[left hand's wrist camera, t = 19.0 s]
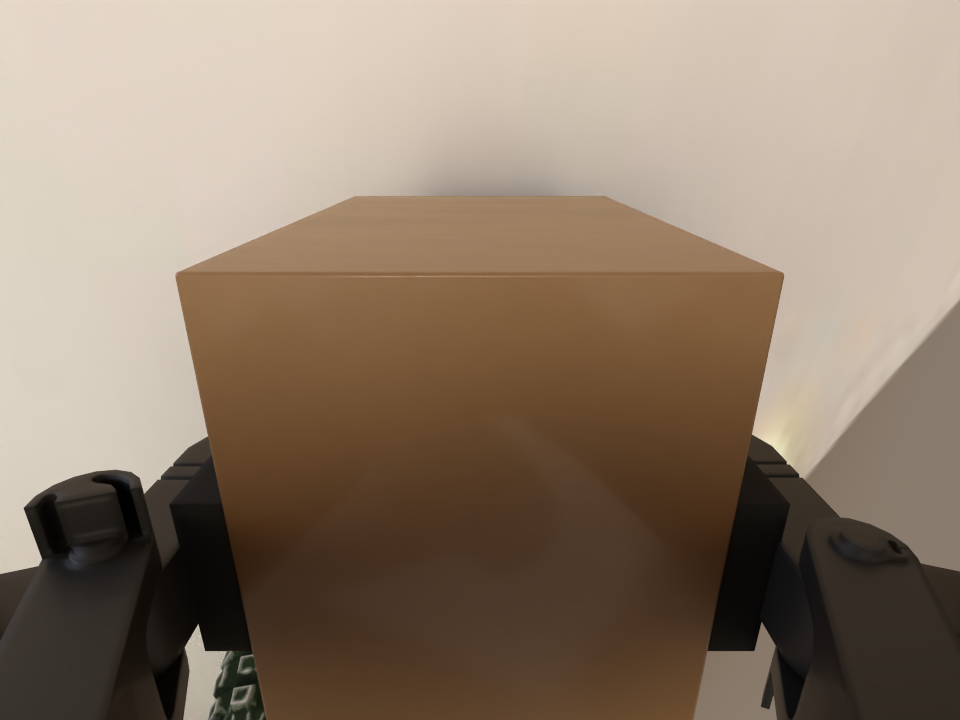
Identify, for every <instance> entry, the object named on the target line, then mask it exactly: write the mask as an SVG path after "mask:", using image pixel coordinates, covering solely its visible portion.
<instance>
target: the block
mask: <svg viewBox="0 0 960 720" xmlns="http://www.w3.org/2000/svg"><path fill="white" fill-rule="evenodd" d="M783 279H784V274H783V273H782V272H780V271H777V270H775V269H773V268H770V267H768V266H766V265H763V264H761V263H759V262H756V261H754V260H752V259H749V258H747V257H745V256H742V255H740V254H738V253H735V252H733V251H731V250H728V249H726V248H724V247H722V246H719V245H717V244H715V243H712V242H710V241H708V240H705V239H703V238H701V237H698V236H696V235H694V234H691V233H689V232H687V231H684V230H682V229H680V228H677V227H675V226H673V225H670V224H668V223H666V222H663V221H661V220H659V219H656V218H654V217H652V216H649V215H647V214H645V213H642V212H640V211H638V210H635V209H633V208H631V207H628V206H626V205H624V204H621V203H619V202H617V201H614V200H612V199H610V198H608V197H605V196H355V197H352V198H350V199H348V200H345V201H343V202H341V203H338V204H336V205H334V206H331V207H329V208H327V209H324V210H322V211H320V212H317V213H315V214H313V215H310V216H308V217H306V218H303V219H301V220H299V221H296V222H294V223H292V224H289V225H287V226H285V227H282V228H280V229H278V230H275V231H273V232H271V233H268V234H266V235H264V236H261V237H259V238H257V239H254V240H252V241H250V242H247V243H245V244H243V245H240V246H238V247H236V248H233V249H231V250H229V251H226V252H224V253H222V254H219V255H217V256H215V257H212V258H210V259H208V260H205V261H203V262H201V263H198V264H196V265H194V266H191V267H189V268H187V269H185V270H182V271H180V272H178V273H176V282H177V286H178V291H179V296H180V301H181V306H182V311H183V316H184V321H185V325H186V330H187V335H188V340H189V345H190V350H191V355H192V360H193V364H194V369H195V374H196V379H197V384H198V389H199V394H200V399H201V403H202V408H203V413H204V418H205V423H206V428H207V433H208V438H209V442H210V447H211V452H212V457H213V462H214V467H215V472H216V477H217V481H218V486H219V491H220V496H221V501H222V506H223V511H224V516H225V520H226V525H227V530H228V535H229V540H230V545H231V550H232V555H233V559H234V564H235V569H236V574H237V579H238V584H239V589H240V594H241V598H242V603H243V608H244V613H245V618H246V623H247V628H248V633H249V637H250V642H251V647H252V652H253V657H254V662H255V667H256V672H257V676H258V681H259V686H260V691H261V696H262V701H263V706H264V711H265V715H266V720H693V718H694V714H695V709H696V704H697V699H698V694H699V689H700V684H701V679H702V675H703V670H704V665H705V660H706V655H707V650H708V645H709V640H710V636H711V631H712V626H713V621H714V616H715V611H716V606H717V601H718V596H719V592H720V587H721V582H722V577H723V572H724V567H725V562H726V557H727V553H728V548H729V543H730V538H731V533H732V528H733V523H734V518H735V513H736V509H737V504H738V499H739V494H740V489H741V484H742V479H743V474H744V470H745V465H746V460H747V455H748V450H749V445H750V440H751V435H752V430H753V426H754V421H755V416H756V411H757V406H758V401H759V396H760V391H761V386H762V382H763V377H764V372H765V367H766V362H767V357H768V352H769V347H770V343H771V338H772V333H773V328H774V323H775V318H776V313H777V308H778V303H779V299H780V294H781V289H782V284H783Z"/></svg>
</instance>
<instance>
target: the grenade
mask: <svg viewBox="0 0 960 720" xmlns="http://www.w3.org/2000/svg"><path fill="white" fill-rule="evenodd" d="M221 669H222V672H221V674H220V675H219V677H218V678H217V680H216V684H215V689H214V693H213V695H214V697H215V698H216V700H215V702H214V704H213V706H212V707H211V709H210V713H209V718H208V720H266V715H265V711H264V706H263V701H262V696H261V691H260V686H259V681H258V676H257V672H256V667H255V662H254V657H253V652H252V651H227V653H226V655H225V657H224V660H223V662H222V664H221Z"/></svg>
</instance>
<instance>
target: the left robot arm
mask: <svg viewBox="0 0 960 720" xmlns="http://www.w3.org/2000/svg"><path fill="white" fill-rule="evenodd" d="M24 510H25V513H26V516H27V519H28V521H29V524H30V527H31V530H32V532H33V535H34V538H35V541H36V543H37V546H38V549H39V552H40V554H41V557H42V561H41V563H40V565H39V566H37V567H33V568H28V569H23V570H18V571H13V572H9V573H4V574H0V720H183V716H184V709H185V701H186V693H187V686H188V678H189V665H188V658H187V655H186V651H185V646H186V644H187V642H188V640H189V639H190V637H191V635H192V634H193V632H194V630H195V628H196V627H197V625H198V624H199V628H200V632H201V636H202V640H203V644H204V648H205V651H252V647H251V642H250V637H249V633H248V628H247V623H246V618H245V613H244V608H243V603H242V598H241V594H240V589H239V584H238V579H237V574H236V569H235V564H234V559H233V555H232V550H231V545H230V540H229V535H228V530H227V525H226V520H225V516H224V511H223V506H222V501H221V496H220V491H219V486H218V481H217V477H216V472H215V467H214V462H213V457H212V452H211V447H210V442H209V438H208V437H206V438H205V439H203V440H201V441H199V442H198V443H196V444H194V445H193V446H191V447H189V448H188V449H187V450H186V451H185V452H184V453H183V454H182V455H181V456H180V457H179V458H178V459H177V460H176V461H175V462H174V463H173V467H170V468H169V469H168V470H167V471H166V472H165V473H164V474H163V475H162V476H161V480H157V481H156V482H155V483H154V484H153V485H152V487H151V488H150V489H149V490H148V491H147V492H146V493H145V494H144V493H143V489H142V485H141V481H140V478H139V477H137V476H136V475H134V474H133V473H132V472H127V471H120V470H108V471H96V472H92V473H88V474H84V475H80V476H76V477H73V478H70V479H68V480H65V481H63V482H60V483H58V484H55V485H53V486H51V487H50V488H48V489H46V490H45V491H43V492H42V493H40V494H38V495H37V496H35V497H34V498H33V499H32V500H31V501H30V502H29V503H28V504H27V505H26V506H25V507H24ZM761 622H762V623H763V624H764V626H765V628H766V630H767V631H768V633H769V635H770V636H771V638H772V640H773V642H774V643H775V645H776V647H775V651H774V655H773V658H772V662H771V666H770V670H769V674H768V677H767V681H766V685H765V689H764V692H763V697H762V704H761V707H764V708H767V709H769V708H770V704H771V701H772V697H773V696H774V699H775V707H776V715H777V720H960V572H959V571H954V570H949V569H944V568H940V567H935V566H930V565H925V564H921V563H920V562H919V560H918V558H917V557H916V556H915V554H914V553H913V552H912V551H911V550H910V548H909V547H908V546H907V545H906V544H904V543H903V542H901V541H900V540H899V539H897V538H896V537H894V536H893V535H892V534H890V533H888V532H886V531H884V530H881V529H879V528H877V527H875V526H873V525H871V524H867V523H864V522H860V521H857V520H853V519H850V518H840V517H839V516H838V515H837V513H836V512H835V511H834V510H833V509H832V508H831V507H830V506H829V505H828V504H827V503H826V502H825V501H824V500H823V499H822V498H821V497H820V496H819V495H818V494H817V493H816V492H815V491H814V490H813V488H812V487H811V486H810V485H809V484H808V483H807V482H806V481H805V480H804V479H803V478H799V474H798V473H797V472H796V471H795V470H794V469H793V468H792V467H791V466H790V465H787V461H786V460H785V459H784V458H783V457H782V456H781V455H780V454H779V453H778V452H777V451H776V450H775V449H774V448H773V447H772V446H771V445H769V444H767V443H766V442H764V441H762V440H760V439H759V438H757V437H755V436H753V435H751V440H750V445H749V450H748V455H747V460H746V465H745V470H744V474H743V479H742V484H741V489H740V494H739V499H738V504H737V509H736V513H735V518H734V523H733V528H732V533H731V538H730V543H729V548H728V553H727V557H726V562H725V567H724V572H723V577H722V582H721V587H720V592H719V596H718V601H717V606H716V611H715V616H714V621H713V626H712V631H711V636H710V640H709V645H708V650H707V651H754V650H755V646H756V642H757V638H758V634H759V630H760V626H761Z"/></svg>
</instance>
